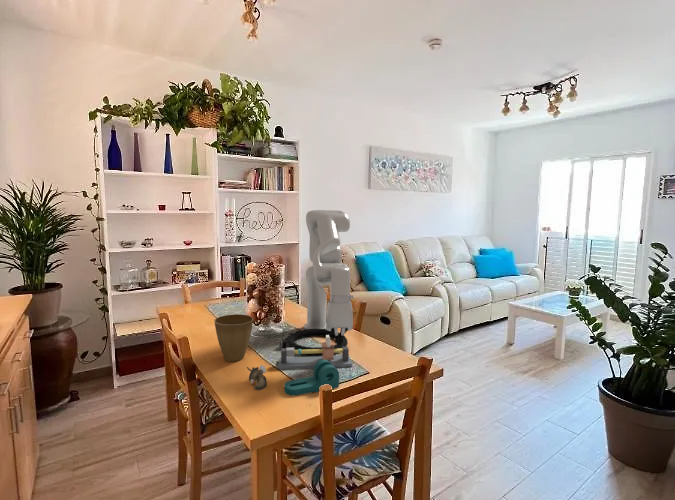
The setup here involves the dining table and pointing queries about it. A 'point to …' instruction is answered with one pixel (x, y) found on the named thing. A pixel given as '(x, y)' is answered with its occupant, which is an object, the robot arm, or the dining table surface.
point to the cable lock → (305, 333)
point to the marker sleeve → (328, 349)
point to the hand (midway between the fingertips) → (338, 344)
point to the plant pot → (233, 335)
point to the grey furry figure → (258, 377)
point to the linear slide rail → (311, 358)
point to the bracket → (314, 380)
